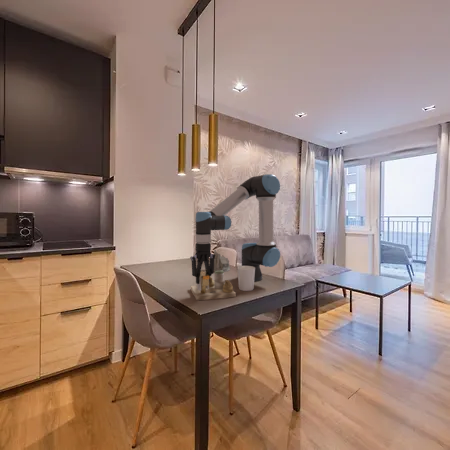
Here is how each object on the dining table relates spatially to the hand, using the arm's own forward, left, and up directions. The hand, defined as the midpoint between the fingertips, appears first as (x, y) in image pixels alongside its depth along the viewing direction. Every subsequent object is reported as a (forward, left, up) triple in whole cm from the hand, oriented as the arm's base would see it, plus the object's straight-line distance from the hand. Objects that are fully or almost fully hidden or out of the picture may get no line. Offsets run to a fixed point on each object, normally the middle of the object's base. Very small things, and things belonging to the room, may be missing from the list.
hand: (203, 289), depth 127 cm
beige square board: (-6, -5, -4) cm, 9 cm away
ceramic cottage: (-27, -57, -4) cm, 63 cm away
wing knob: (0, +1, -2) cm, 2 cm away
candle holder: (-26, -7, -4) cm, 27 cm away
